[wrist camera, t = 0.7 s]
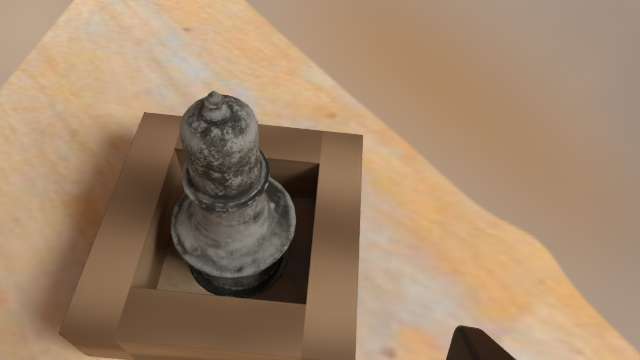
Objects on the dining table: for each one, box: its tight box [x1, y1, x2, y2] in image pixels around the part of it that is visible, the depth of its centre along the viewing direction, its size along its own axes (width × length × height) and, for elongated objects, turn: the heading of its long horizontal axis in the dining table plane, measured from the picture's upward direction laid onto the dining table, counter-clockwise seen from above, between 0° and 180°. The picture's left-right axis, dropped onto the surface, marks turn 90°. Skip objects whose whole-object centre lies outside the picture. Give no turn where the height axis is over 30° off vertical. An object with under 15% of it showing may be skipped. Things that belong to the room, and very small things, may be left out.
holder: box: [59, 112, 363, 360], centre depth 24 cm, size 12×12×4 cm
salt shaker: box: [171, 91, 296, 298], centre depth 21 cm, size 6×6×12 cm
